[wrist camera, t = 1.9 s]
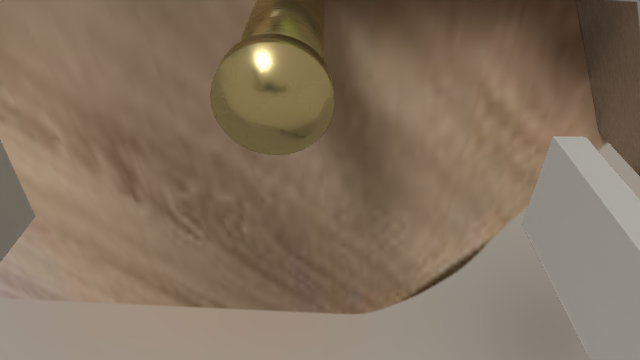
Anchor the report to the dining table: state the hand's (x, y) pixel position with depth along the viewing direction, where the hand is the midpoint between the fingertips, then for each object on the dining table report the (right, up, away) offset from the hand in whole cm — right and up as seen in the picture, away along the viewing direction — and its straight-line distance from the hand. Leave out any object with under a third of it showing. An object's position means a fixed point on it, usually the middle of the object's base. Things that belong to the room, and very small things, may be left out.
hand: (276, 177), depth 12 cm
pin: (-1, +12, +19) cm, 23 cm away
